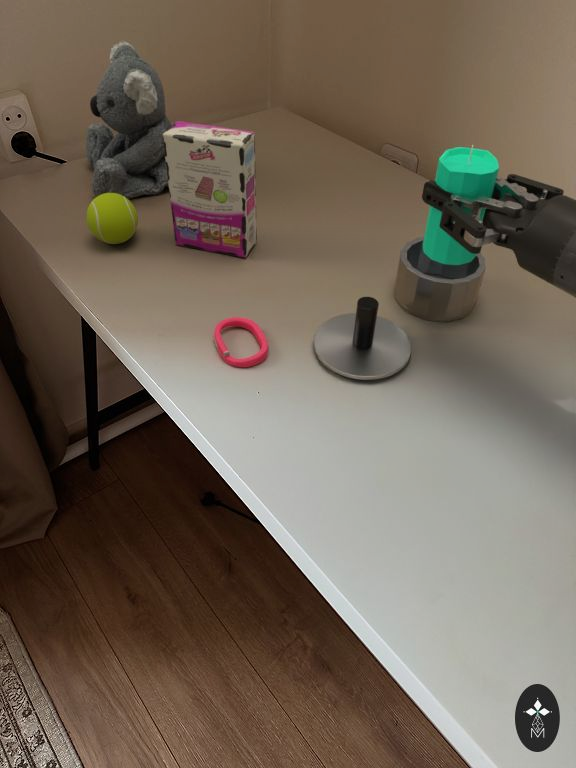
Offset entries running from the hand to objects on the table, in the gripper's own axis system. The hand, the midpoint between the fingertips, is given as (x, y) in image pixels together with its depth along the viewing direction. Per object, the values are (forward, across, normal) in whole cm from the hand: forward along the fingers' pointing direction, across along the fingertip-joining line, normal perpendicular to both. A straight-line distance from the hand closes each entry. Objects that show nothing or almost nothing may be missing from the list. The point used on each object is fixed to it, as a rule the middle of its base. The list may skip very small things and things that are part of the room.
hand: (443, 182), depth 68 cm
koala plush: (+54, -8, -19) cm, 58 cm away
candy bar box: (+30, -10, -19) cm, 37 cm away
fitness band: (+9, -20, -19) cm, 29 cm away
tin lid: (0, -9, -18) cm, 20 cm away
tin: (+2, +6, -19) cm, 20 cm away
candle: (-3, 0, -7) cm, 8 cm away
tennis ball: (+39, -21, -19) cm, 49 cm away
